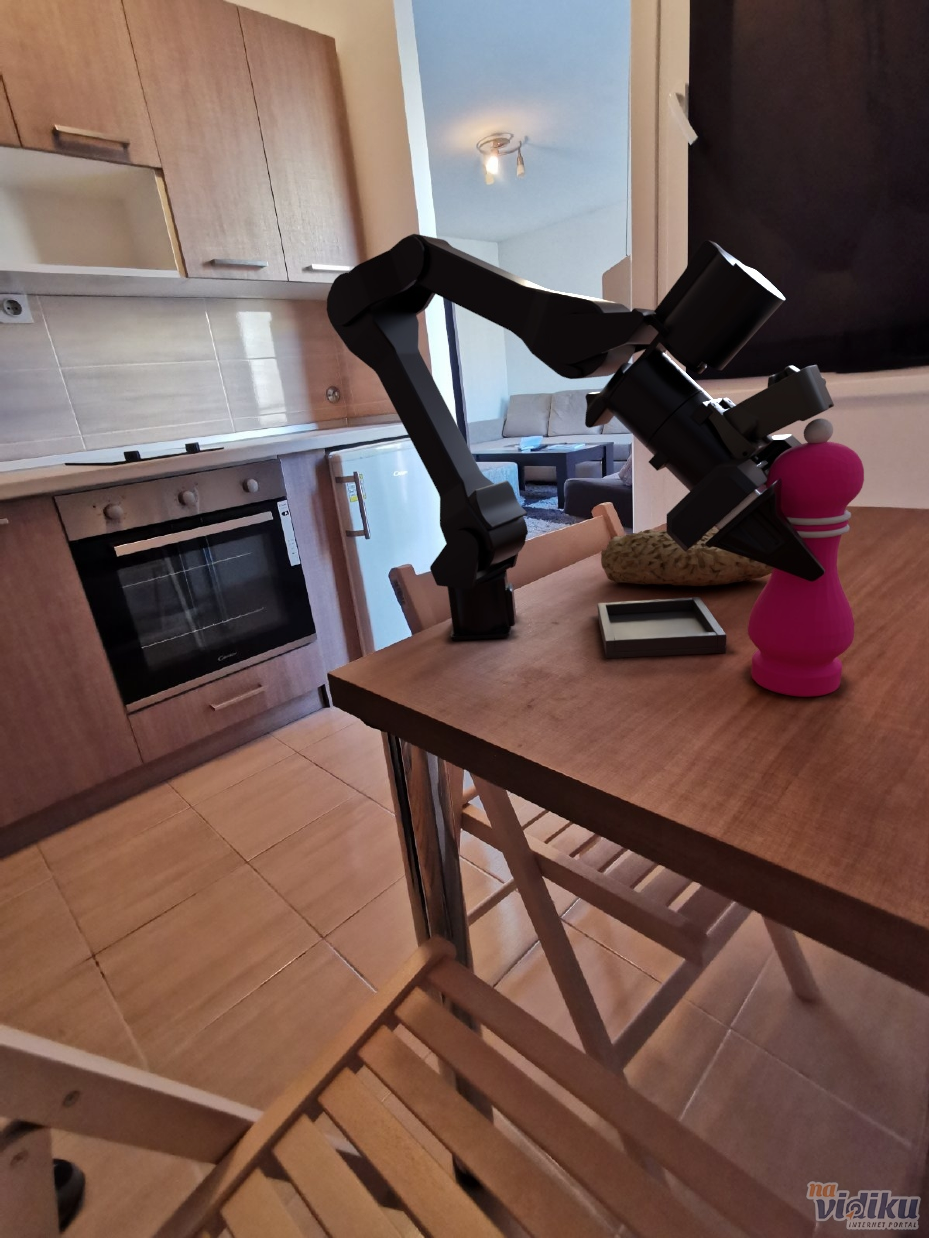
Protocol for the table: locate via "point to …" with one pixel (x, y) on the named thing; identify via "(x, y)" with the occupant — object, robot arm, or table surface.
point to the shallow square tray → (659, 628)
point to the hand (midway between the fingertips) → (825, 566)
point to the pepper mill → (794, 607)
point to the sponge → (675, 561)
